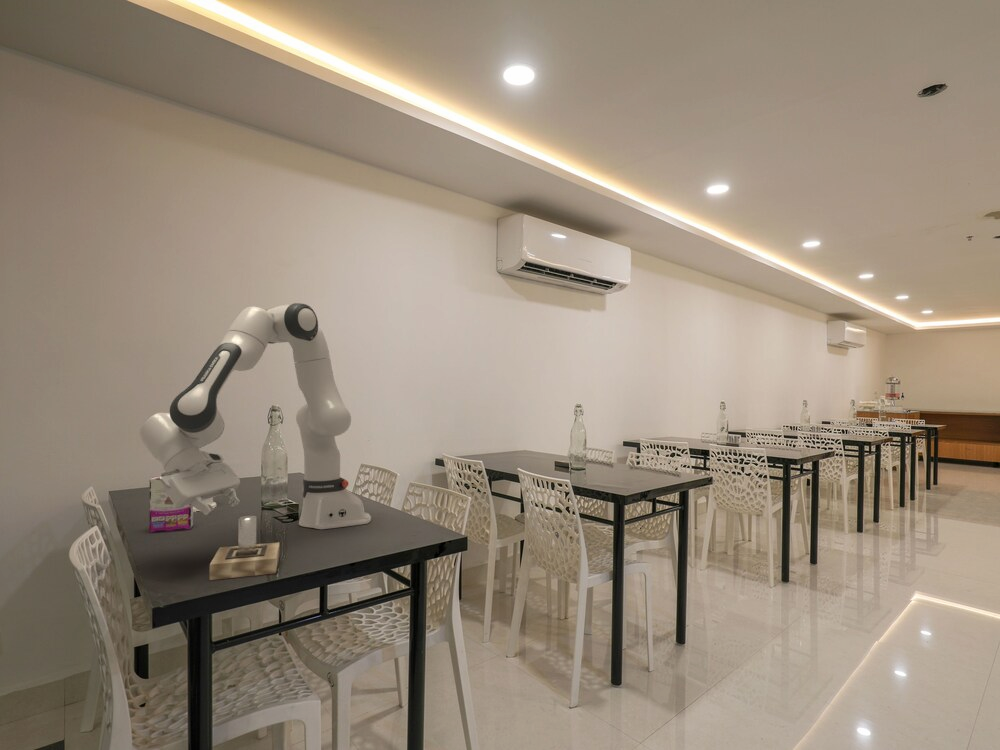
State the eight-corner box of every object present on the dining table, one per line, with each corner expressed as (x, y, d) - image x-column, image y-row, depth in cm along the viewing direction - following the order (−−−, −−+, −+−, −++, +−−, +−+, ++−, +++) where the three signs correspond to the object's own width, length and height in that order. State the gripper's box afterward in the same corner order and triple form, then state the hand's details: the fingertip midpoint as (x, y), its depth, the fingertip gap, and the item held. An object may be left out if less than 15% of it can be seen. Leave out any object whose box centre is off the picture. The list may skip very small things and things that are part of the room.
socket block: (279, 555, 142) (279, 541, 143) (275, 573, 129) (276, 557, 129) (219, 561, 138) (219, 546, 138) (209, 580, 125) (209, 563, 125)
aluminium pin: (256, 563, 136) (257, 515, 136) (255, 568, 132) (255, 518, 133) (239, 565, 135) (239, 516, 135) (237, 570, 131) (237, 520, 131)
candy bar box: (193, 525, 173) (194, 473, 174) (190, 529, 168) (191, 476, 169) (152, 529, 169) (152, 475, 169) (148, 533, 164) (149, 478, 165)
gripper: (164, 464, 127) (201, 509, 125) (224, 453, 147) (257, 491, 145) (147, 483, 127) (183, 528, 125) (209, 470, 147) (242, 508, 145)
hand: (223, 508), depth 135 cm, fingers open, 8 cm apart
